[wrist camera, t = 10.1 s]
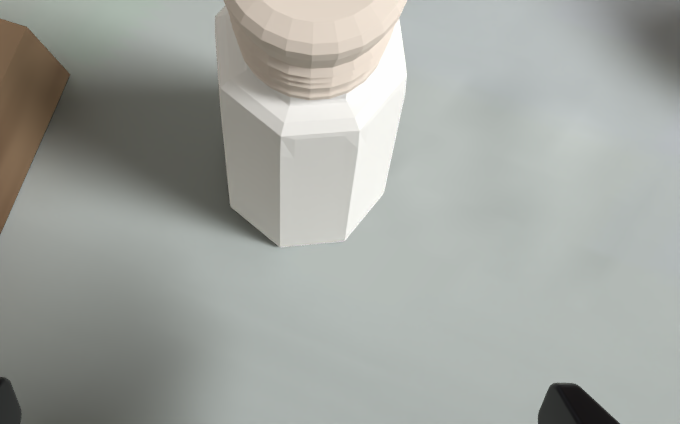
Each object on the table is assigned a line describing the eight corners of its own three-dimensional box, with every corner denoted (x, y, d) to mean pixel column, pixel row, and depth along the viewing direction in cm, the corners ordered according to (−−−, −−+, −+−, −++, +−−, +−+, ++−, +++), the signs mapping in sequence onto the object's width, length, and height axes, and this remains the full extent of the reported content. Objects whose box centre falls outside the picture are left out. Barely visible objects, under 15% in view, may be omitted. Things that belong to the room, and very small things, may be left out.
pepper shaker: (252, 74, 19) (192, -259, 8) (404, 120, 19) (544, -147, 8) (199, 223, 18) (46, 68, 7) (360, 272, 18) (457, 193, 7)
